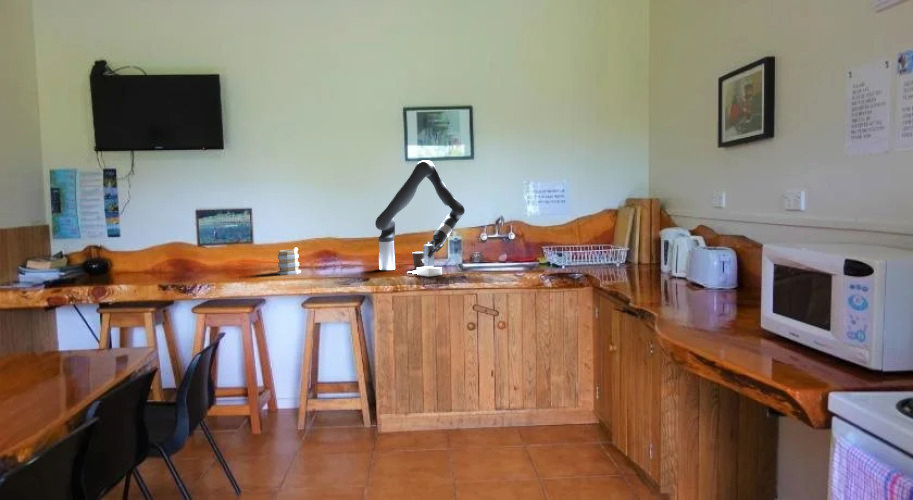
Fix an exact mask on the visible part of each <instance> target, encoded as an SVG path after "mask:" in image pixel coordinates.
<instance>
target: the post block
mask: <svg viewBox="0 0 913 500" xmlns="http://www.w3.org/2000/svg"><path fill="white" fill-rule="evenodd" d="M408 273H412V274H411V275H414V274H417V276H422V277H428V278H429V277H434V276H435V277H436V276H442V275H443V267H441V266H440V267H439V266H438V267H434V266H431V267H426V266H425V267H419V268H417V269H416V270H412V271H407V274H408Z"/></svg>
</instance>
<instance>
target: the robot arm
mask: <svg viewBox="0 0 913 500" xmlns="http://www.w3.org/2000/svg"><path fill="white" fill-rule="evenodd" d="M425 178H427V179H428V180H429V181H430V182H431V184H432V186H433V187H434V190H435V191H436V194H437V196H438V198H439V199H440V200H441V202H442V204H443V205H444V206H446V207H449V208H450V209H451V210H450V211H449V213H448V215H447V216H446V217H445V219H444V220H443V221H442V222H441V224H440V225H439V226H438V228H437V229H435V230H436V231H434V233H433V235H432V239H431V240H430V241H429V240H427V241H426V242H425V245H428V244H431V245H433V246H432V247H433V248H432V249H431V251H430V252H429V254H428V255H427V256H428V257H429V258H431V256H432V255H433V253H434V254H435V253H438V252H439V251H440V250H441V249H442V248H443V247H444V246H445V242H446V240H447V239H448V238H449V237H450V235H451V233H452V231H453V229H454V228H455V227H456V225H457V223H458V222H459V220H460V219H461V218H462V217H463V216H464V214H465V211H466V210H465V208H464V206H463V204H462V203H461V202H460V201H459V200H458V199H456V198H455V197H454V195H453V194H452V192H451V191H450V190H449V188H448V187H447V186H446V184H445V182H444V181H443V179H442V178H441V176H440V174H439V172H438V170H437V169H436V167H435V165H434V163H433V162H432V161H431V160H421V161H418V163H417V164H416V165H415V166H414V169H413V170H412V172H411V173H410V175H409V177H408V178H407V179H406V181H405V182H404V183H403V184H402V186H401V187H400V188H399V189H398V191H397V192H396V193H395V195H394V196H393V198H392V200H391V201H390V202H389V203H388V205H387V206H386V207H385V209H383V211H382V212H381V213H380V214H379V215H378V216H377V218H376V219H375V223H374V224H375V227H376V229H377V230H379V231H381V233H380V236H378V250H379V251H378V252H379V253H378V266H379V267H378V268H379V270H380V271H393V270H396V262H395V261H396V260H395V259H396V258H395V237H396V222H395V216H396V215H398V213H400V212H401V211H402V210H403V209H404V208H406V207H407V206H408V205H409V204H410V203H411V201H412V200H413V198H415V197H414V196H415V195H416V193H417V189H418V187H419V185H420V184H422V183H421V182H422V181H423V180H424V179H425ZM422 256H423V257H424V253H423V255H422Z"/></svg>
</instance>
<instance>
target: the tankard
mask: <svg viewBox="0 0 913 500" xmlns="http://www.w3.org/2000/svg"><path fill="white" fill-rule="evenodd" d="M298 251H299V248H298V247H297V246H295V247H294V248H293V249H283V250H278V254H277V260H279V261H278V264H277V265H278V266H277V267H278V268H279V270H277V272H276V273H277V275H279V274H280V275H279V276H292V275H298V274H301V273H302V270H301V269H300V268H299V266H300V262H299V258H300V257H299V253H298ZM291 274H292V275H291Z"/></svg>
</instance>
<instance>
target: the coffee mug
mask: <svg viewBox="0 0 913 500" xmlns="http://www.w3.org/2000/svg"><path fill="white" fill-rule="evenodd" d="M423 253H424V251H415V252H412V261H413V262H412V263H413V267H414V270H417V268H419V267H426V266H424V257H423V256H422V255H423Z"/></svg>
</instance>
